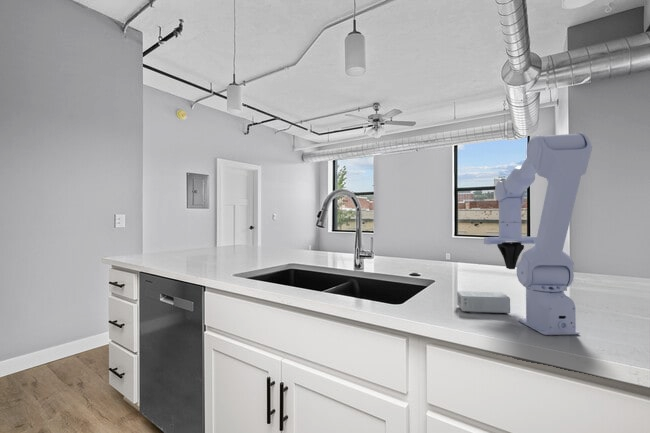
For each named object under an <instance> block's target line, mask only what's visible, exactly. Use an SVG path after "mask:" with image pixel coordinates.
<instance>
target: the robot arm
mask: <svg viewBox="0 0 650 433" xmlns="http://www.w3.org/2000/svg"><path fill="white" fill-rule="evenodd" d="M526 147H527V148H526V158H525V160H524V162H523V163H522V165H520V166H515V168H514V169H513V170H511V172H510V173H509V175H508V176H507V177H506V178H505V180H498V181H497V182H496V184H495V188H494V195H495V199H496V200H497V202H498V236H489V237H485V236H484V237H483V244H484V245H496V246H497V248H498V249H499V252H500V253H501V255H502V257H503V260H504V263H505V268H506V269H507V270H516V277H517V280H518V282H519V283H520V284H521V285H522V287H524V288H525V318H517V321H518V322H520V323H522V324H523V325H525V326H527V327H529V328H531V329H533V330H534V331H537V332H538V333H540V334H542V335H544V336H545V335H546V336H553V335H554V336H555V335H580V334H581V333H580V331H579V330H576V329H577V328H576V326H577V325H576V323H577V322H576V315H577V314H576V304H575V302H574V300H573V299H572V298H571V297H570V296H567V295H566V294H565V292H566V291H568V288H569V287H570V286H571V285H572V284H573V281H574V278H575V277H574V275H575V274H574V266H575V262H574V260H573V258H572V257H571V256H570V255H569V254H567V253H566V252H564V251H563V250H564V248H565V247H564V246H565V244H566V238H567V234H568V231H569V227H570V223H571V218H572V214H573V211H574V206H575V203H576V198H577V194H578V191H579V187H580V183H581V178H582V176H583V175H585V174H586V173H587V169H588V166H589V162H590V159H591V154H592V151H593V145H592V143H591V141H590V139H589V137H588V136H587V134H586V133H584V132H577V133H571V134H570V133H566V134H550V135H549V134H548V135H540V134H536V135H534V136H532V138H531V139H530V140H529V141H528V143H527V146H526ZM536 174H537V175H538V177H539V176H540V177H542V178H543V179H546V180H547V187H546V192H545V197H544V201H543V205H542V212H541V216H540V220H539V224H538V230H537V234H536V236H523V234H522V233H523V231H522V230H523V229H522V223H523V222H522V219H523V218H522V207H523V206H524V200H525V196H526V190H527V189H529V187H530V186H532V184H533V183H534V182H535V180H536ZM524 244H532V245H533V244H534V246H532V247H530V248H529V249H527V250H526V251H523V250H525V245H524ZM522 251H523V253H522ZM521 253H522V255H521ZM520 255H521V258H520V260H519V257H520ZM518 260H519V262H518Z"/></svg>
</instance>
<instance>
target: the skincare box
mask: <svg viewBox="0 0 650 433" xmlns="http://www.w3.org/2000/svg"><path fill="white" fill-rule="evenodd" d="M456 304H457V306H458V307H459V308H460V309H461V311H462V312H468V311H471V312H496V313H498V314H500V313H501V314H502V313H504V314H510V313H511V298H510V297H509V296H508V295H507V294H505V293H503V292H501V291H472V290H471V291H469V290H468V291H467V290H457V291H456Z"/></svg>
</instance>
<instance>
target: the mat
mask: <svg viewBox="0 0 650 433" xmlns="http://www.w3.org/2000/svg"><path fill="white" fill-rule="evenodd" d="M467 312H468V313H469V314H493V313H496V312H471V311H467Z"/></svg>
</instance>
